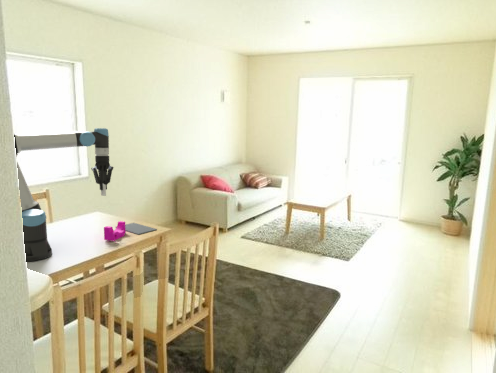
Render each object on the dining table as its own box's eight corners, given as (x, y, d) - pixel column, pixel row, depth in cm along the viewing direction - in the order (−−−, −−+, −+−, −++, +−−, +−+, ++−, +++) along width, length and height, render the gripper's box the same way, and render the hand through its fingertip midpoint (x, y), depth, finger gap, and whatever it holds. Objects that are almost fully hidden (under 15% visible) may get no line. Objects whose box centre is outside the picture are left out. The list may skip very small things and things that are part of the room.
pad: (138, 234, 221) (138, 233, 221) (115, 227, 236) (115, 226, 236) (156, 230, 232) (156, 229, 232) (133, 223, 247) (133, 222, 247)
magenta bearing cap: (113, 240, 209) (113, 228, 208) (104, 239, 211) (103, 227, 210) (129, 233, 224) (128, 222, 222) (120, 232, 225) (119, 221, 224)
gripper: (95, 156, 203) (96, 197, 206) (116, 155, 213) (117, 194, 217) (88, 155, 207) (89, 195, 211) (108, 154, 218) (110, 193, 221)
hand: (103, 195), depth 214 cm, fingers closed
